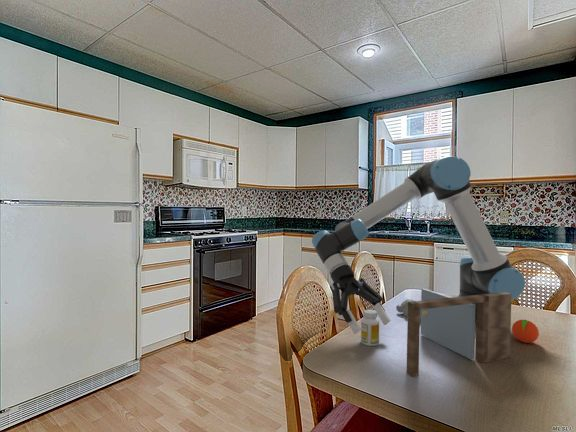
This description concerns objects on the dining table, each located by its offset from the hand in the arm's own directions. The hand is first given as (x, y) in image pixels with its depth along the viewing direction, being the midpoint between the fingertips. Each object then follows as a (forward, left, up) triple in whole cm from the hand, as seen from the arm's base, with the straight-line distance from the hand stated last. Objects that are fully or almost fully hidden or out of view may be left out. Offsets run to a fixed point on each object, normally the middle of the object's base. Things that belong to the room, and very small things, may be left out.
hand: (373, 327), depth 99 cm
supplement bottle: (0, -1, -5) cm, 6 cm away
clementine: (-47, +14, -5) cm, 49 cm away
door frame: (-15, +19, -5) cm, 24 cm away
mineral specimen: (-30, -16, -6) cm, 35 cm away
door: (-20, +8, -5) cm, 22 cm away
